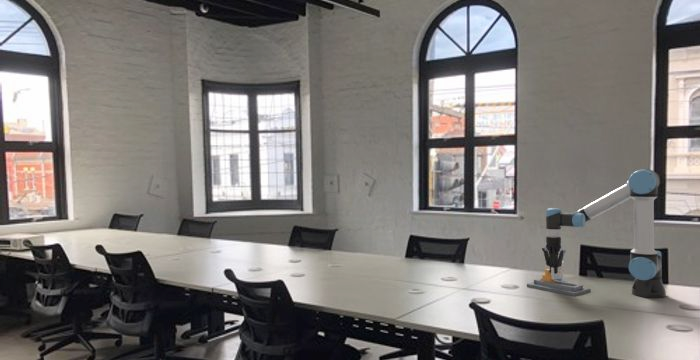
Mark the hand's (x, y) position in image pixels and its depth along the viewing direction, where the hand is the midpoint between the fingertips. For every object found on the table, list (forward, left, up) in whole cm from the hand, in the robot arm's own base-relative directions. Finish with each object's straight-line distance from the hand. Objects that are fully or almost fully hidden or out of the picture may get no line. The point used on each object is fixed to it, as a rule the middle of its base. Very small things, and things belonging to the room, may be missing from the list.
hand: (553, 279), depth 272 cm
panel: (-2, 0, -5) cm, 6 cm away
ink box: (+9, -15, -5) cm, 18 cm away
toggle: (+3, 0, -3) cm, 5 cm away
